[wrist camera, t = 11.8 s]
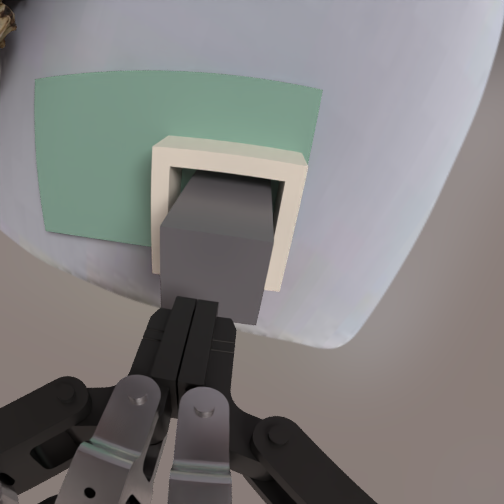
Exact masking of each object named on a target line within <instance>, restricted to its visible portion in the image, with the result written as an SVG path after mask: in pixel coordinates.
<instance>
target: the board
mask: <svg viewBox="0 0 504 504" xmlns="http://www.w3.org/2000/svg"><path fill="white" fill-rule="evenodd" d="M322 91H323V90H320V89H316V88H311V87H306V86H301V85H296V84H290V83H285V82H279V81H272V80H266V79H259V78H252V77H244V76H235V75H226V74H215V73H202V72H186V71H109V72H93V73H81V74H71V75H62V76H54V77H47V78H40V79H35V102H34V116H35V145H36V160H37V172H38V181H39V190H40V198H41V205H42V212H43V218H44V224H45V230H46V231H50V232H56V233H62V234H69V235H76V236H82V237H89V238H95V239H102V240H109V241H115V242H122V243H129V244H135V245H142V246H149V247H151V170H152V146H154V145H155V144H157V143H158V142H160V141H161V140H162V139H164V138H165V137H167V136H168V135H169V136H181V137H192V138H202V139H212V140H220V141H229V142H236V143H244V144H251V145H258V146H265V147H271V148H277V149H283V150H289V151H295V152H300V153H302V154H303V156H304V159H305V161H306V163H307V165H308V161H309V156H310V151H311V147H312V142H313V137H314V132H315V127H316V122H317V117H318V112H319V107H320V101H321V96H322ZM196 170H197V169H191V168H182V177H181V192H182V191H183V189H184V188H185V186H186V185H187V183H188V182H189V180H190V179H191V177H192V176H193V174H194V173H195V172H196ZM278 185H279V180H273V179H271V194H272V212H274V207H275V201H276V196H277V191H278Z"/></svg>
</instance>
